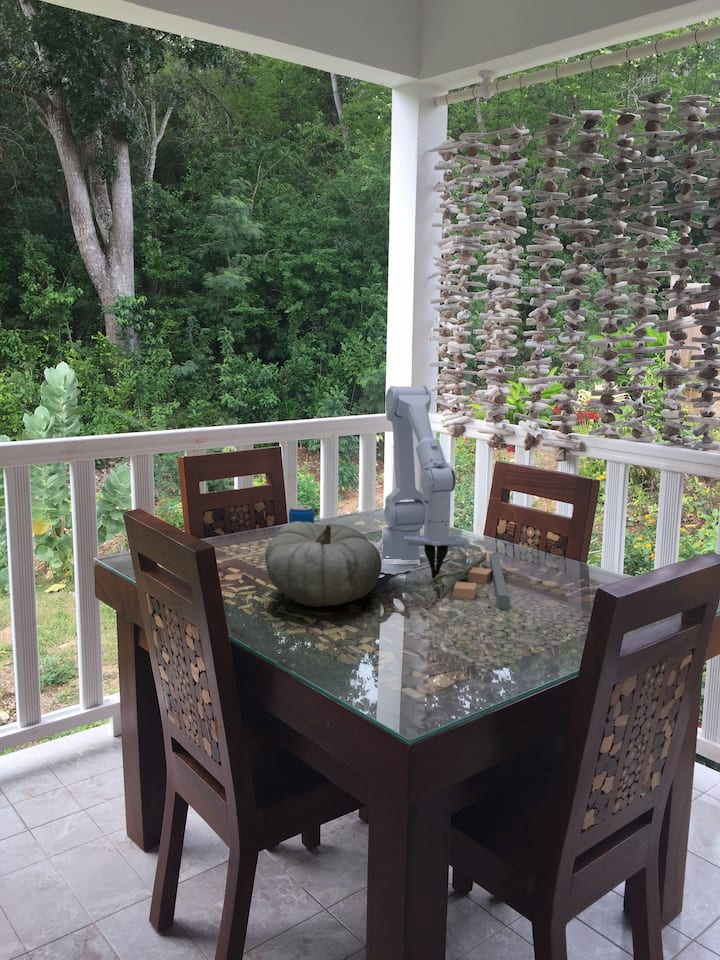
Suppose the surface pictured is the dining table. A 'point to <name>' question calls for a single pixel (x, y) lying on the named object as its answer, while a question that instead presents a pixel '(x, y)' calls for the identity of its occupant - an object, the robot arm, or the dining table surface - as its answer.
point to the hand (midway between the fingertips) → (435, 577)
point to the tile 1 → (465, 590)
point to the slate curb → (498, 582)
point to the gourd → (322, 563)
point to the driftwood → (450, 579)
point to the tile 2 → (480, 575)
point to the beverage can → (301, 513)
